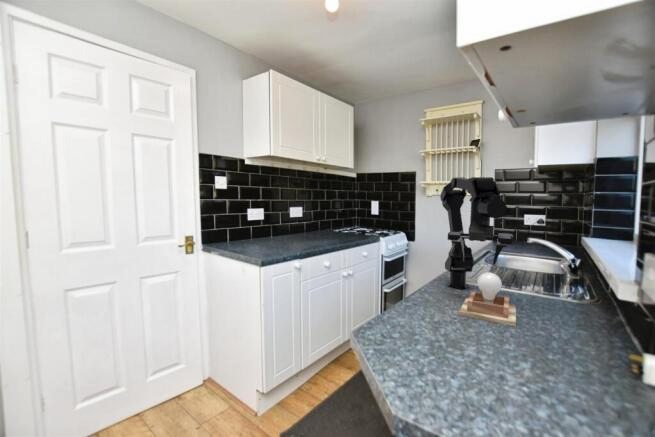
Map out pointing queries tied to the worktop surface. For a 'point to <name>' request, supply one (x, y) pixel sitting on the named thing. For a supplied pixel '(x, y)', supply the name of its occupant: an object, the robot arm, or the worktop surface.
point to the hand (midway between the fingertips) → (478, 262)
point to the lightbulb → (489, 286)
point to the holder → (489, 309)
